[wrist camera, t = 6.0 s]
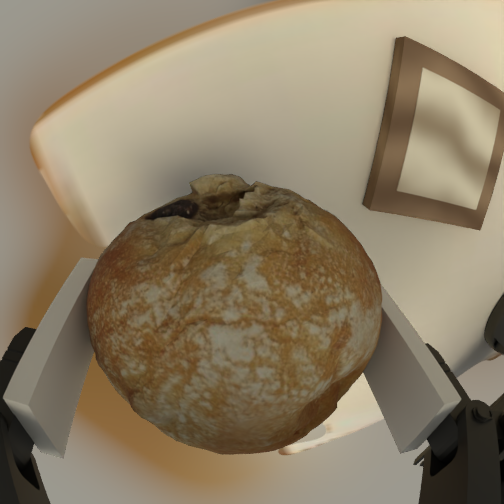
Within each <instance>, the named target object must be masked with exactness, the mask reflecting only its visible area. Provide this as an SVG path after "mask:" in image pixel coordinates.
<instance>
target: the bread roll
mask: <svg viewBox="0 0 504 504" xmlns="http://www.w3.org/2000/svg"><path fill="white" fill-rule="evenodd" d="M189 184H190V187H191V189H192V193H191V194H189V195H186V196H183V197H179V198H176V199H174V200H172V201H171V202H169V203H167V204H165V205H163V206H161V207H159V208H157V209H155V210H153V211H151V212H149V213H147V214H144V215H143V216H141V217H140V218H139V219H137V220H136V221H134V222H130V223H129V224H128V225H127V226H126V227H125V229H124V230H123V231H122V232H121V233H120V234H119V235H118V236H117V237H116V238H115V239H114V240H113V241H112V242H111V244H110V245H109V246H108V247H107V248H106V249H105V250H104V252H103V253H102V254H101V256H100V257H99V259H98V261H97V263H96V266H95V268H94V271H93V274H92V277H91V281H90V284H89V289H88V296H87V303H86V308H87V323H88V328H89V333H90V341H91V345H92V347H93V350H94V352H95V354H96V360H97V362H98V364H99V366H100V367H101V368H102V370H103V371H104V373H105V374H106V376H107V378H108V379H109V381H110V383H111V384H112V386H113V387H114V388H115V390H116V391H117V392H118V393H119V394H120V395H121V396H122V397H123V398H124V399H125V400H126V401H127V402H128V403H129V404H130V405H131V407H132V409H133V410H134V411H135V412H136V413H137V414H138V415H139V416H141V417H142V418H144V419H146V420H147V421H149V422H151V423H152V424H154V425H155V426H156V427H157V428H158V429H159V430H160V431H161V432H163V433H164V434H166V435H167V436H170V437H171V438H173V439H174V440H176V441H179V442H182V443H184V444H186V445H189V446H193V447H197V448H201V449H205V450H209V451H212V452H215V453H218V454H253V453H261V452H269V451H274V450H277V449H280V448H283V447H285V446H287V445H290V444H292V443H294V442H296V441H298V440H300V439H301V438H303V437H304V436H306V435H307V434H308V433H309V432H310V431H311V430H312V429H314V428H316V427H317V426H318V425H320V424H321V423H322V422H323V421H325V420H326V419H327V418H328V417H329V416H330V415H331V414H332V413H333V412H334V411H335V410H336V408H337V402H338V401H339V400H340V398H341V397H342V396H343V395H344V394H345V393H346V392H347V391H348V390H349V388H350V387H351V386H352V384H353V383H354V382H355V381H356V380H357V379H358V378H359V377H360V376H361V374H362V373H363V371H364V369H365V368H366V366H367V364H368V362H369V361H370V359H371V357H372V355H373V353H374V351H375V348H376V346H377V344H378V340H379V335H380V329H381V324H382V307H381V305H382V291H381V284H380V281H379V278H378V275H377V272H376V270H375V267H374V265H373V262H372V261H371V259H370V258H369V257H368V255H367V253H366V252H365V250H364V248H363V247H362V245H361V243H360V242H359V241H358V240H357V239H356V237H355V236H354V235H353V234H352V233H351V232H350V230H349V229H348V228H347V227H346V226H345V225H344V224H343V223H342V222H341V221H340V220H339V219H337V218H336V217H335V216H334V215H332V214H331V213H329V212H327V211H325V210H323V209H321V208H320V207H318V206H317V205H316V204H314V203H313V202H311V201H310V200H307V199H304V198H303V197H301V196H300V195H298V194H297V193H295V192H293V191H291V190H289V189H283V188H278V187H272V186H269V185H266V184H263V183H260V182H257V181H256V182H255V183H254V184H253V185H252V186H250V185H248V184H246V183H245V181H244V180H243V179H242V178H241V177H239V176H236V175H233V174H229V175H221V174H213V175H205V176H203V177H201V178H199V179H196V180H194V181H192V182H190V183H189Z"/></svg>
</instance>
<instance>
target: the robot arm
mask: <svg viewBox="0 0 504 504" xmlns="http://www.w3.org/2000/svg"><path fill="white" fill-rule="evenodd" d="M97 261H98V259H89V258H81V259H80V260H79V262H78V263H77V265H76V266H75V268H74V269H73V271H72V272H71V274H70V275H69V277H68V278H67V280H66V281H65V283H64V285H63V286H62V288H61V289H60V291H59V292H58V294H57V296H56V297H55V299H54V301H53V302H52V304H51V306H50V307H49V309H48V311H47V312H46V314H45V316H44V317H43V319H42V321H41V323H40V325H39V327H38V328H37V329H33V328H28V327H25V328H24V329H22V330H21V331H20V332H19V333H18V334H17V335H15V336H14V338H13V340H12V341H11V343H10V345H9V347H8V350H7V351H6V352H5V354H4V356H3V357H2V360H1V361H0V504H50V501H49V499H48V496H47V494H46V491H45V488H44V485H43V482H42V479H41V476H40V473H39V470H38V467H37V463H36V460H35V458H34V456H33V454H32V453H31V452H32V449H33V445H34V444H35V445H36V446H37V448H38V449H39V450H40V452H43V453H46V454H49V455H53V456H56V457H60V458H64V454H65V450H66V445H67V441H68V437H69V433H70V429H71V425H72V422H73V418H74V414H75V411H76V407H77V404H78V400H79V397H80V393H81V390H82V387H83V384H84V380H85V377H86V374H87V371H88V368H89V365H90V362H91V359H92V356H93V353H94V350H93V347H92V345H91V341H90V333H89V328H88V323H87V308H86V303H87V296H88V289H89V284H90V281H91V277H92V274H93V271H94V268H95V266H96V263H97ZM381 291H382V305H381V307H382V324H381V329H380V335H379V340H378V344H377V346H376V348H375V351H374V353H373V355H372V357H371V359H370V361H369V362H368V364H367V366H366V368H365V369H364V371H363V373H364V375H365V377H366V379H367V381H368V384H369V386H370V388H371V390H372V392H373V394H374V396H375V399H376V401H377V403H378V405H379V407H380V409H381V412H382V414H383V416H384V418H385V420H386V423H387V425H388V427H389V429H390V431H391V434H392V436H393V438H394V441H395V443H396V445H397V447H398V449H399V452H400V453H404V452H407V451H411V450H414V449H417V448H418V447H419V446H420V445H421V444H422V443H423V442H424V441H425V440H426V439H427V440H428V442H429V444H430V445H429V446H428V447H427V448H426V449H425V450H424V451H423V452H422V453H421V454H420V455H419V456H418V457H417V458H416V459H415V461H414V465H417V463H419V462H420V461H421V460H422V459H423V458H424V461H422V463H421V464H420V466H423V474H422V483H421V491H420V498H419V504H504V393H503V394H502V396H500V397H499V398H498V399H497V400H496V401H495V402H494V403H493V404H492V405H491V406H488V405H487V404H485V403H484V402H482V401H480V400H472V401H471V400H470V398H469V397H468V395H467V394H466V392H465V391H464V389H463V387H462V386H461V385H460V383H459V381H458V380H457V379H456V377H455V375H454V374H453V373H452V372H450V368H449V367H448V365H447V364H445V361H444V359H443V358H442V357H441V355H440V354H439V352H438V351H437V350H435V349H434V348H433V347H432V346H431V345H429V344H428V343H427V344H425V343H424V342H423V340H422V339H421V338H420V336H419V335H418V333H417V332H416V331H415V329H414V328H413V326H412V325H411V324H410V322H409V321H408V320H407V318H406V317H405V315H404V314H403V313H402V311H401V310H400V309H399V307H398V306H397V305H396V303H395V302H394V301H393V299H392V298H391V297H390V295H389V294H388V293H387V291H386V290H385V289H384V288H383V286H382V285H381ZM485 340H486V341H487V343H488V344H489V345H490V346H491V347H492V348H493V349H494V350H495V351H497V352H499V353H501V354H503V355H504V295H503V297H502V298H501V299H500V301H499V302H498V304H497V305H496V307H495V309H494V310H493V312H492V314H491V316H490V318H489V321H488V323H487V326H486V330H485Z"/></svg>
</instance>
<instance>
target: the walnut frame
mask: <svg viewBox="0 0 504 504" xmlns="http://www.w3.org/2000/svg"><path fill="white" fill-rule="evenodd" d="M503 151H504V93H503V92H502V91H501V90H499V89H498V88H496V87H495V86H493V85H492V84H490V83H489V82H487V81H486V80H484V79H483V78H481V77H480V76H478V75H477V74H475V73H473V72H472V71H470V70H468V69H467V68H465V67H463V66H462V65H460V64H458V63H457V62H455V61H453V60H451V59H449V58H448V57H446V56H444V55H442V54H440V53H438V52H436V51H434V50H432V49H431V48H429V47H427V46H424V45H422V44H420V43H418V42H416V41H414V40H412V39H410V38H408V37H405V36H404V37H399V38H396V41H395V49H394V56H393V63H392V69H391V75H390V81H389V87H388V93H387V99H386V104H385V109H384V114H383V119H382V124H381V129H380V134H379V139H378V143H377V148H376V152H375V157H374V161H373V165H372V169H371V173H370V178H369V182H368V186H367V190H366V193H365V197H364V201H363V205H364V206H366V207H367V208H368V209H369V210H373V211H379V212H385V213H391V214H397V215H403V216H409V217H415V218H420V219H426V220H431V221H436V222H441V223H447V224H452V225H457V226H461V227H466V228H471V229H476V230H480V229H481V227H482V224H483V221H484V218H485V215H486V212H487V209H488V206H489V203H490V200H491V196H492V193H493V190H494V186H495V183H496V179H497V176H498V172H499V168H500V164H501V160H502V156H503Z"/></svg>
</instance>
